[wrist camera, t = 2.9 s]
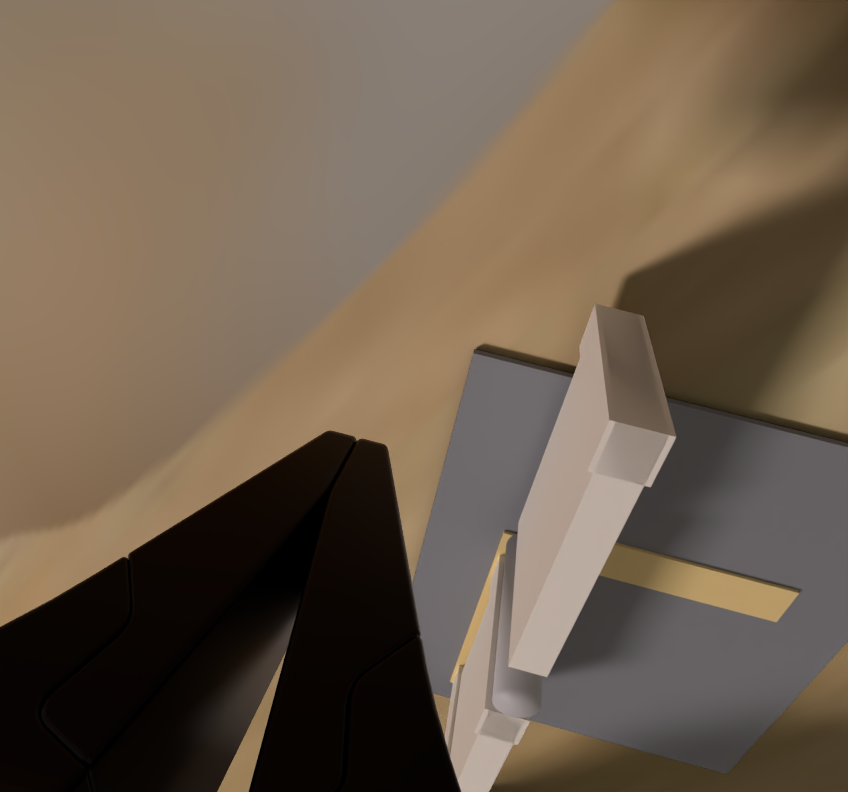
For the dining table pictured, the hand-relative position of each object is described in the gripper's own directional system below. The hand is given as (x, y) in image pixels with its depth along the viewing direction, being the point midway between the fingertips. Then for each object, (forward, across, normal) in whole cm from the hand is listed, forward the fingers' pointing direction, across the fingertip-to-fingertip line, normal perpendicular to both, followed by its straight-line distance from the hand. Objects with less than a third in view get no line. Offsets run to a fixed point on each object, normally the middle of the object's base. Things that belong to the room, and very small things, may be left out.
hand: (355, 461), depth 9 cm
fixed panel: (+6, -4, +10) cm, 12 cm away
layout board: (+6, -7, +8) cm, 12 cm away
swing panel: (+6, -4, +3) cm, 7 cm away
